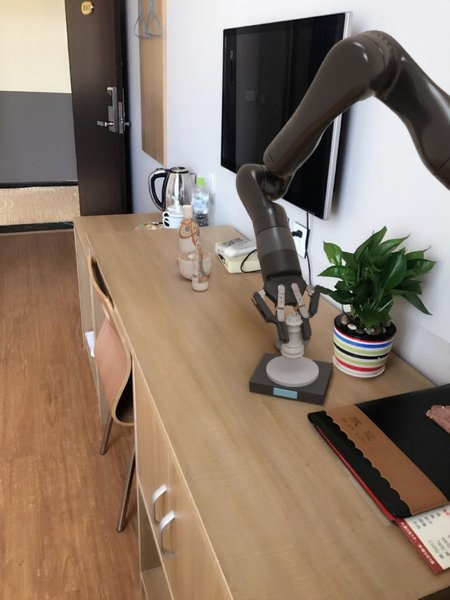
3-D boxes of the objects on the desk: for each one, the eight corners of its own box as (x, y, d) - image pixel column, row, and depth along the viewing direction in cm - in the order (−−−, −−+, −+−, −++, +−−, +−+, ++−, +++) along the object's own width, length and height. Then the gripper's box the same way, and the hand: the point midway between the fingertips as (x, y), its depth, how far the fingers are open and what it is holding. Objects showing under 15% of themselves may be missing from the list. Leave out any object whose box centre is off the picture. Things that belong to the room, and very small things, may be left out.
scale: (332, 373, 100) (333, 359, 99) (322, 406, 91) (323, 391, 89) (264, 362, 105) (265, 348, 103) (248, 392, 95) (248, 378, 94)
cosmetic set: (219, 292, 137) (216, 225, 129) (185, 295, 136) (180, 228, 127) (204, 260, 159) (201, 201, 151) (175, 263, 158) (170, 204, 150)
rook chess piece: (277, 357, 94) (278, 320, 91) (284, 346, 98) (284, 309, 94) (301, 362, 93) (302, 323, 89) (306, 350, 96) (308, 312, 93)
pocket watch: (288, 336, 114) (289, 296, 110) (318, 349, 108) (320, 308, 104) (263, 349, 109) (263, 308, 105) (293, 364, 104) (294, 321, 99)
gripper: (245, 251, 92) (263, 341, 87) (318, 243, 95) (340, 330, 89) (239, 267, 99) (255, 351, 94) (306, 260, 102) (326, 341, 96)
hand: (296, 341), depth 92 cm, fingers closed on rook chess piece, 3 cm apart
